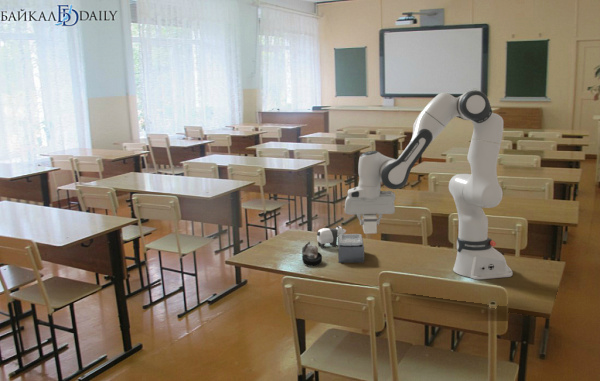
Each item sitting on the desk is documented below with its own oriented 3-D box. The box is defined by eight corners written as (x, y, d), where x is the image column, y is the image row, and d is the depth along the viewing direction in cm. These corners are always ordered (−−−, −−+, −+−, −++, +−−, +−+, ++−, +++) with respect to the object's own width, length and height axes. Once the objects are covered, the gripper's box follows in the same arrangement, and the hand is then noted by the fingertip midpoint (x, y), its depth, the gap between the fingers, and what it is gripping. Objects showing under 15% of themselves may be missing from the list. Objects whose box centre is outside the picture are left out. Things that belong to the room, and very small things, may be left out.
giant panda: (319, 249, 251) (319, 229, 249) (315, 246, 256) (314, 226, 254) (348, 245, 256) (348, 225, 254) (343, 241, 261) (343, 222, 259)
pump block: (375, 227, 224) (375, 211, 223) (376, 233, 216) (376, 216, 215) (362, 227, 225) (362, 211, 223) (363, 233, 217) (363, 216, 215)
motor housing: (362, 251, 246) (362, 233, 244) (364, 262, 232) (364, 243, 230) (338, 251, 247) (337, 233, 245) (338, 262, 232) (338, 243, 231)
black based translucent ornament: (316, 272, 229) (295, 265, 234) (328, 259, 238) (308, 253, 242) (316, 259, 226) (295, 252, 231) (328, 246, 235) (308, 240, 239)
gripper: (394, 189, 220) (394, 221, 223) (344, 190, 221) (344, 222, 224) (396, 192, 213) (396, 226, 216) (344, 193, 215) (345, 226, 218)
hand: (369, 224), depth 220 cm, fingers closed on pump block, 5 cm apart
